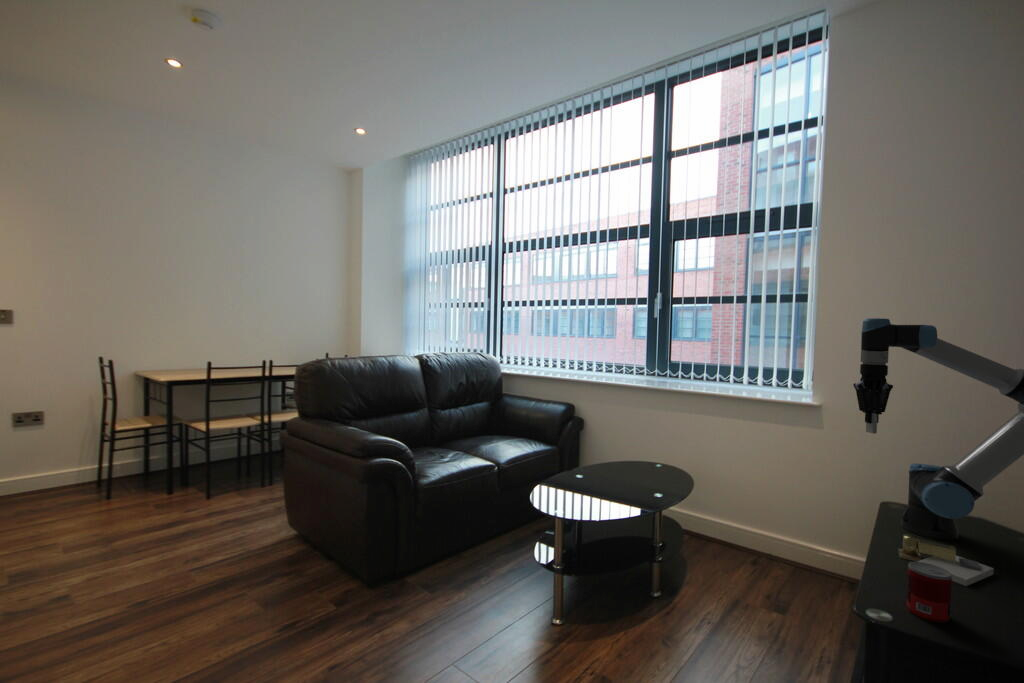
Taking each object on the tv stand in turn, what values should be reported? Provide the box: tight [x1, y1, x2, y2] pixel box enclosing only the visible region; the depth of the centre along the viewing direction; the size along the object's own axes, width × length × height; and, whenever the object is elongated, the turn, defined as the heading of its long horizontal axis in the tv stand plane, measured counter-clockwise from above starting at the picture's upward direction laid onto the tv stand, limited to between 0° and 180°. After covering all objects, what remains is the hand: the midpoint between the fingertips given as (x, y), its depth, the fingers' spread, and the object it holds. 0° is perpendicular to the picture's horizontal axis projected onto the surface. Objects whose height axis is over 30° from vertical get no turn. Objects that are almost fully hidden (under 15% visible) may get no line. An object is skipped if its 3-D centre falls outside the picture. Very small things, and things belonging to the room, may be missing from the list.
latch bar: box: [902, 534, 957, 561], centre depth 142 cm, size 12×4×5 cm, turn 53°
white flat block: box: [918, 555, 995, 587], centre depth 137 cm, size 16×11×3 cm
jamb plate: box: [898, 548, 923, 562], centre depth 145 cm, size 5×5×1 cm
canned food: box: [906, 561, 953, 624], centre depth 115 cm, size 8×8×11 cm
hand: (871, 432), depth 162 cm, fingers closed
